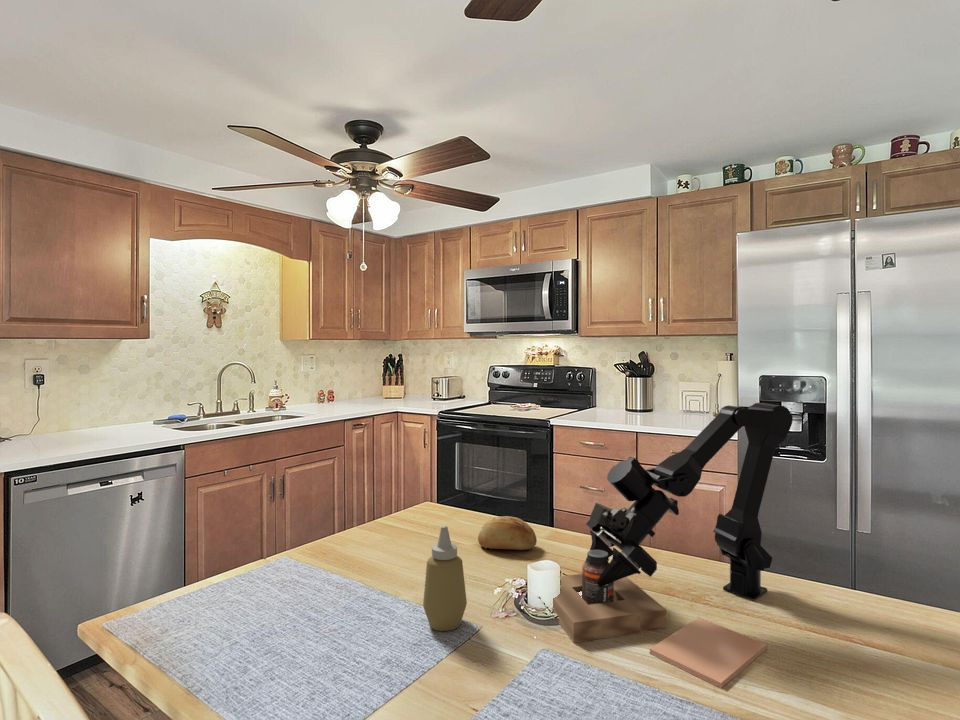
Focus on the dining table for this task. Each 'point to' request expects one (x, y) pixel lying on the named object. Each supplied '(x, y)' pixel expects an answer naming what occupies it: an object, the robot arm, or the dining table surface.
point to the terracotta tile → (709, 651)
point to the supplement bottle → (596, 578)
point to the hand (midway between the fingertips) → (591, 578)
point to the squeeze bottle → (444, 585)
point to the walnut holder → (607, 611)
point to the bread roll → (507, 534)
